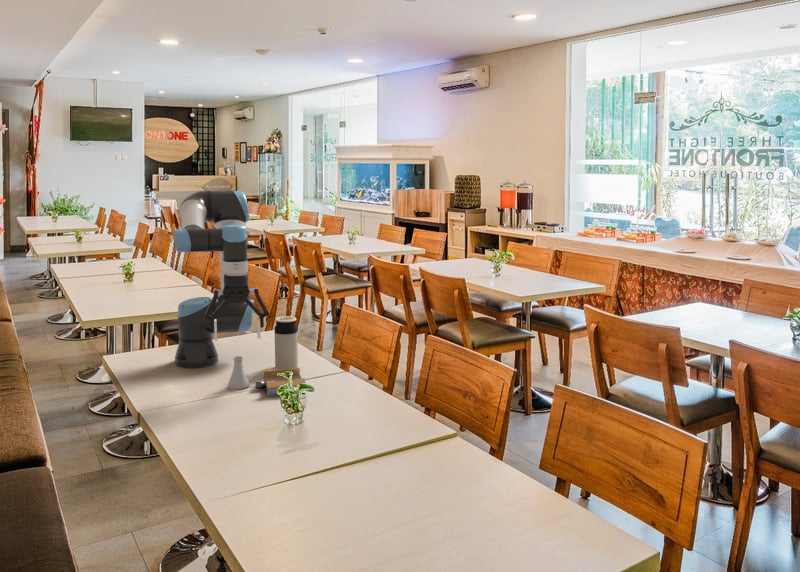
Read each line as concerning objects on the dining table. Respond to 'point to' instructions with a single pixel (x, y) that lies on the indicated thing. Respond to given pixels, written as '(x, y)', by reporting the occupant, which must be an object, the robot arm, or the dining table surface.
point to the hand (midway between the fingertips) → (237, 338)
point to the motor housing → (278, 380)
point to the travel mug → (286, 343)
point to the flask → (238, 375)
